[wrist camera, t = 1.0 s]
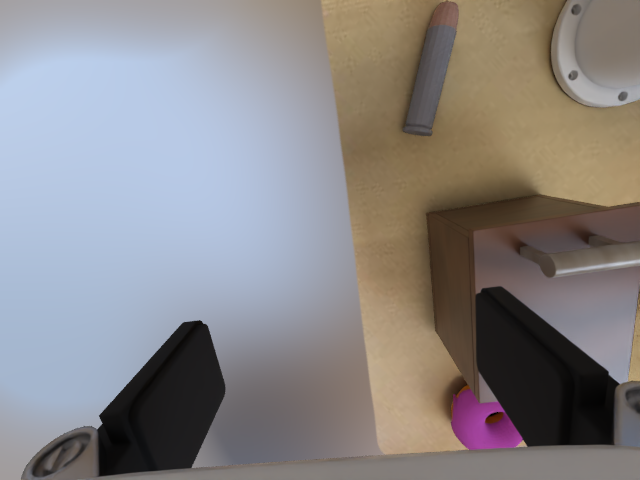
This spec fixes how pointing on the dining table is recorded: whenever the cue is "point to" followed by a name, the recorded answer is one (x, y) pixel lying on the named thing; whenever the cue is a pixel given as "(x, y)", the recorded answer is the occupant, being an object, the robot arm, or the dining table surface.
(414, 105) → the bullet cartridge
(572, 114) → the dining table surface
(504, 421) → the donut
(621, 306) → the lid
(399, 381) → the dining table surface
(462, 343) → the chest
